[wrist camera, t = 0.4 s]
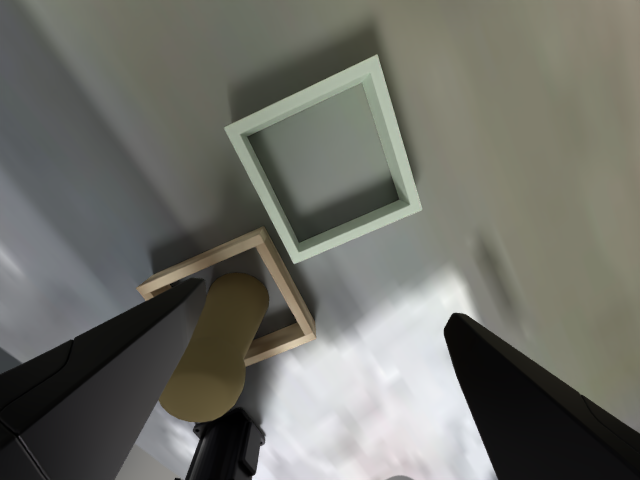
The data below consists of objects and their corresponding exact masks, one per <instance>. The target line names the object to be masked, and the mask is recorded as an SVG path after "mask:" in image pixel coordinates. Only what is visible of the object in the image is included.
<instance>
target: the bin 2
mask: <svg viewBox="0 0 640 480" xmlns="http://www.w3.org/2000/svg"><path fill="white" fill-rule="evenodd" d="M360 83H362V84H363V87H364V90H365V94H366V97H367V100H368V103H369V106H370V109H371V112H372V116H373V119H374V122H375V125H376V128H377V131H378V134H379V138H380V141H381V144H382V147H383V150H384V153H385V156H386V160H387V163H388V166H389V169H390V172H391V175H392V178H393V182H394V185H395V188H396V191H397V194H398V197H399V200H398V201H395V202H393V203H391V204H388V205H386V206H384V207H381V208H379V209H377V210H374V211H372V212H370V213H367V214H365V215H363V216H360V217H358V218H356V219H353V220H351V221H349V222H346V223H344V224H342V225H339V226H337V227H335V228H332V229H330V230H328V231H325V232H323V233H321V234H318V235H316V236H314V237H311V238H309V239H307V240H305V241H302V242H300V243H299V242H298V240H297V238H296V236H295V233H294V231H293V229H292V227H291V225H290V223H289V221H288V219H287V217H286V215H285V213H284V211H283V209H282V207H281V205H280V203H279V201H278V199H277V197H276V195H275V193H274V191H273V189H272V187H271V185H270V183H269V180H268V178H267V176H266V174H265V172H264V170H263V168H262V166H261V164H260V162H259V160H258V158H257V156H256V154H255V152H254V150H253V148H252V146H251V144H250V142H249V140H248V138H247V136H250V135H252V134H254V133H256V132H258V131H260V130H262V129H264V128H267V127H269V126H271V125H273V124H275V123H277V122H279V121H281V120H284V119H286V118H288V117H290V116H292V115H294V114H296V113H298V112H301V111H303V110H305V109H307V108H309V107H311V106H313V105H315V104H318V103H320V102H322V101H324V100H326V99H328V98H330V97H332V96H334V95H337V94H339V93H341V92H343V91H345V90H347V89H349V88H351V87H354V86H356V85H358V84H360ZM224 129H225V131H226V133H227V135H228V137H229V139H230V141H231V143H232V145H233V147H234V149H235V151H236V152H237V154H238V156H239V158H240V160H241V162H242V164H243V166H244V168H245V170H246V172H247V174H248V176H249V178H250V180H251V182H252V184H253V185H254V187H255V189H256V191H257V193H258V195H259V197H260V199H261V201H262V203H263V205H264V207H265V209H266V211H267V213H268V215H269V217H270V219H271V220H272V222H273V224H274V226H275V228H276V230H277V232H278V234H279V236H280V238H281V240H282V242H283V244H284V246H285V248H286V250H287V252H288V253H289V255H290V257H291V259H292V261H293V263H294V264H296V263H298V262H301V261H303V260H305V259H308V258H310V257H312V256H315V255H317V254H319V253H322V252H324V251H327V250H329V249H331V248H334V247H336V246H338V245H341V244H343V243H345V242H348V241H350V240H352V239H355V238H357V237H360V236H362V235H364V234H367V233H369V232H371V231H374V230H376V229H378V228H381V227H383V226H386V225H388V224H390V223H393V222H395V221H397V220H400V219H402V218H404V217H407V216H409V215H411V214H414V213H416V212H419V211H421V210H422V207H421V203H420V200H419V196H418V193H417V189H416V186H415V182H414V179H413V176H412V172H411V169H410V165H409V162H408V158H407V155H406V151H405V148H404V144H403V141H402V138H401V134H400V131H399V127H398V124H397V120H396V117H395V113H394V110H393V106H392V103H391V99H390V96H389V93H388V89H387V86H386V82H385V79H384V75H383V72H382V68H381V65H380V61H379V58H378V55H375V56H373V57H371V58H369V59H366V60H364V61H362V62H360V63H358V64H356V65H354V66H352V67H350V68H348V69H345V70H343V71H341V72H339V73H337V74H335V75H333V76H331V77H329V78H327V79H325V80H322V81H320V82H318V83H316V84H314V85H312V86H310V87H308V88H306V89H304V90H302V91H299V92H297V93H295V94H293V95H291V96H289V97H287V98H285V99H283V100H281V101H278V102H276V103H274V104H272V105H270V106H268V107H266V108H264V109H262V110H260V111H258V112H255V113H253V114H251V115H249V116H247V117H245V118H243V119H241V120H239V121H237V122H234V123H232V124H230V125H228V126H226V127H224Z"/></svg>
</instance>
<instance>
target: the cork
mask: <svg viewBox="0 0 640 480" xmlns="http://www.w3.org/2000/svg"><path fill="white" fill-rule="evenodd" d="M268 307H269V295H268V291H267V289H266V288H265V286H264V285H263V284H262V283H261V282H260V281H259V280H258V279H256V278H255V277H253V276H250V275H248V274H245V273H236V272H235V273H229V274H225V275H223V276H221V277H219V278H217V279H216V280H215V281H214V283H213V284H212V285H211V287H210V289H209V291H208V294H207V296H206V302H205V305H204V308H203V310H202V313H201V315H200V317H199V320H198V322H197V325H196V327H195V330H194V332H193V335H192V337H191V339H190V342H189V344H188V346H187V348H186V350H185V352H184V354H183V356H182V357H181V359H180V361H179V363H178V365H177V367H176V368H175V370H174V372H173V374H172V376H171V377H170V379H169V381H168V383H167V385H166V387H165V388H164V390H163V392H162V394H161V396H160V398H159V399H158V400H159V402H160V404H161V406H162V407H163V408H164V409H165V410H166V411H167V412H168V413H169V414H171V415H172V416H174V417H176V418H178V419H181V420H184V421H188V422H207V421H212V420H215V419H217V418H219V417H221V416H223V415H224V414H225V413H226V412H227V411H228V410H229V409H231V408H232V407H233V406H234V405H235V403H236V401H237V399H238V398H239V396H240V394H241V392H242V390H243V387H244V383H245V375H246V367H245V362H244V358H245V356H246V353H247V351H248V349H249V347H250V345H251V343H252V341H253V339H254V336H255V334H256V332H257V330H258V328H259V326H260V324H261V322H262V320H263V317H264V315H265V313H266V311H267V309H268Z"/></svg>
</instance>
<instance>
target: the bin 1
mask: <svg viewBox="0 0 640 480" xmlns="http://www.w3.org/2000/svg"><path fill="white" fill-rule="evenodd" d="M253 247H256V249H257V250H258V252H259V254H260V256H261V257H262V259H263V261H264V263H265V265H266V266H267V268H268V270H269V272H270V274H271V275H272V277H273V279H274V281H275V282H276V284H277V286H278V288H279V290H280V291H281V293H282V295H283V297H284V299H285V300H286V302H287V304H288V306H289V307H290V309H291V311H292V313H293V315H294V316H295V318H296V320H297V323H295V324H292V325H290V326H287V327H285V328H282V329H280V330H278V331H275V332H273V333H270V334H268V335H265V336H263V337H260V338H258V339H255V340H253V341H252V343H251V345H250V347H249V349H248V351H247V353H246V356H245V358H244V362H245V367H247V366H249V365H252V364H254V363H257V362H259V361H262V360H264V359H267V358H269V357H272V356H274V355H277V354H279V353H282V352H284V351H287V350H289V349H292V348H294V347H297V346H299V345H302V344H304V343H307V342H310V341H312V340H315V339H316V328H315V321H314V319H313V317H312V315H311V314H310V312H309V310H308V308H307V306H306V304H305V302H304V300H303V298H302V297H301V295H300V293H299V291H298V289H297V287H296V285H295V283H294V281H293V280H292V278H291V276H290V274H289V272H288V270H287V268H286V266H285V264H284V263H283V261H282V259H281V257H280V255H279V253H278V251H277V249H276V248H275V246H274V244H273V242H272V240H271V238H270V236H269V234H268V232H267V231H266V229H265V227H264V226H263V227H260V228H258V229H256V230H254V231H251V232H249V233H247V234H244V235H242V236H240V237H238V238H235V239H233V240H231V241H229V242H226V243H224V244H222V245H219V246H217V247H215V248H213V249H210V250H208V251H206V252H204V253H201V254H199V255H197V256H194V257H192V258H190V259H188V260H185V261H183V262H181V263H179V264H176V265H174V266H172V267H169V268H167V269H165V270H163V271H160V272H158V273H156V274H154V275H152V276H151V277H150V278H148V279H147V280H146V281H144V282H143V283H142V284H141V285H139V286H138V287H137V288H136V289H137V290H138V291H139V293H140V294H141V295H142V296H143V298H144V299H145V300H146V301H147V300H149V299H151V298H153V297H155V296H157V295H159V294H161V293H163V292H165V291H166V290H168V289H170V288H172V287H171V285H170V283H172V282H175V281H177V280H179V279H181V278H184V277H186V276H188V275H191V274H193V273H195V272H198V271H200V270H202V269H204V268H207V267H209V266H211V265H214V264H216V263H218V262H221V261H223V260H225V259H227V258H230V257H232V256H234V255H237V254H239V253H241V252H244V251H246V250H248V249H250V248H253Z"/></svg>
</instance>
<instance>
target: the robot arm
mask: <svg viewBox="0 0 640 480" xmlns="http://www.w3.org/2000/svg"><path fill="white" fill-rule="evenodd" d="M205 302H206V282H205V280H204V279H201V278H190V279H188V280H186V281H184V282H182V283H180V284H178V285H176V286H174V287H172V288H170V289H168V290H166V291H165V292H163V293H161V294H159V295H157V296H155V297H153V298H151V299H149V300H147V301H145V302H143V303H141V304H139V305H137V306H135V307H133V308H131V309H130V310H128V311H126V312H124V313H122V314H120V315H118V316H116V317H114V318H112V319H110V320H108V321H106V322H104V323H102V324H100V325H98V326H97V327H95V328H93V329H91V330H89V331H87V332H85V333H83V334H81V335H79V336H77V337H75V338H74V340H69V341H67V342H65V343H63V344H61V345H59V346H57V347H55V348H54V349H52V350H50V351H47V352H45V353H43V354H41V355H39V356H37V357H35V358H33V359H31V360H29V361H27V362H25V363H23V364H21V365H19V366H17V367H15V368H13V369H10V370H8V371H6V372H4V373H2V374H0V480H115V478H116V476H117V474H118V472H119V471H120V469H121V467H122V465H123V463H124V461H125V459H126V458H127V456H128V454H129V452H130V450H131V449H132V447H133V445H134V443H135V441H136V440H137V438H138V436H139V434H140V432H141V430H142V429H143V427H144V425H145V423H146V421H147V419H148V418H149V416H150V414H151V412H152V410H153V408H154V407H155V405H156V403H157V401H158V399H159V398H160V396H161V394H162V392H163V390H164V388H165V387H166V385H167V383H168V381H169V379H170V377H171V376H172V374H173V372H174V370H175V368H176V367H177V365H178V363H179V361H180V359H181V357H182V356H183V354H184V352H185V350H186V348H187V346H188V344H189V342H190V339H191V337H192V335H193V332H194V330H195V327H196V325H197V322H198V320H199V317H200V315H201V313H202V310H203V308H204V305H205ZM444 337H445V340H446V344H447V347H448V350H449V354H450V357H451V360H452V364H453V367H454V370H455V373H456V376H457V379H458V381H459V384H460V386H461V389H462V391H463V394H464V396H465V399H466V401H467V404H468V406H469V409H470V411H471V414H472V416H473V419H474V421H475V424H476V426H477V429H478V431H479V434H480V436H481V439H482V441H483V444H484V446H485V449H486V451H487V453H488V456H489V458H490V461H491V463H492V466H493V468H494V471H495V473H496V476H497V478H498V480H640V433H638V432H637V431H635V430H634V429H632V428H631V427H629V426H627V425H626V424H624V423H623V422H621V421H620V420H618V419H617V418H616V417H614V416H613V415H611V414H610V413H608V412H607V411H605V410H604V409H602V408H601V407H599V406H598V405H596V404H595V403H593V402H592V401H591V400H589V399H588V398H586V397H585V396H583V395H580V393H579V392H577V391H576V390H575V389H573V388H572V387H570V386H569V385H567V384H566V383H564V382H563V381H562V380H560V379H559V378H557V377H556V376H554V375H553V374H551V373H550V372H549V371H547V370H546V369H544V368H543V367H541V366H540V365H538V364H537V363H536V362H534V361H533V360H531V359H530V358H528V357H527V356H525V355H524V354H523V353H521V352H520V351H518V350H517V349H515V348H514V347H512V346H511V345H509V344H508V343H507V342H505V341H504V340H502V339H501V338H499V337H498V336H496V335H495V334H494V333H492V332H491V331H489V330H488V329H486V328H485V327H483V326H482V325H481V324H479V323H478V322H476V321H475V320H473V319H472V318H470V317H469V316H468V315H466V314H462V313H453V314H452V315H451V317H450V319H449V320H448V322H447V324H446V326H445V328H444ZM193 432H194V433H195V434H196V435H197V436H198V438H199V439H200V440H199V443H198V445H197V448H196V451H195V454H194V456H193V459H192V462H191V465H190V467H189V470H188V473H187V476H186V478H185V480H252V476H253V475H255V473H256V470H257V463H258V456H259V449H260V446H262V445H264V444H265V438H264V436H263V435H262V434H261V432H260V431H259V430H258V428H257V427H256V426H255V425H254V423H253V422H252V421H251V419H250V418H249V417H248V415H247V414H246V413H245V412H244V410H243V409H241V408H238V409H235V410H233V411H230V412H227V413H225V414H224V415H223V416H221V417H219V418H217V419H215V420H212V421H207V422H202V423H199V424H196V425H195V426H194V428H193ZM175 480H181V478H175Z"/></svg>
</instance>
